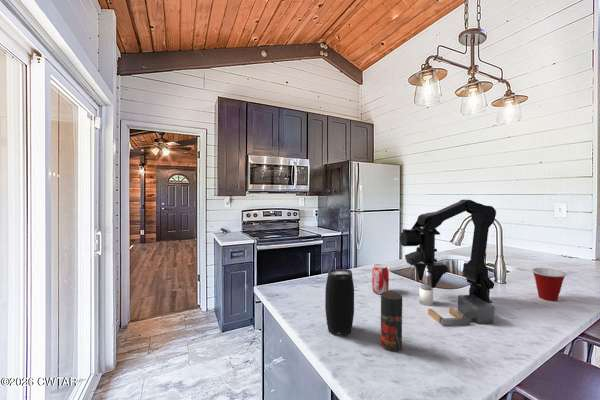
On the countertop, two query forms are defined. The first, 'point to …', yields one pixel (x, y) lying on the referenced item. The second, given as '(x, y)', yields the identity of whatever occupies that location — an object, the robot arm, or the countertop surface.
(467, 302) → the grey angular piece
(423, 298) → the white rounded cylinder
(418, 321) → the countertop surface
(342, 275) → the portable speaker
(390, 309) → the deodorant
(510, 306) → the countertop surface
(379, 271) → the soda can
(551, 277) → the plastic cup
